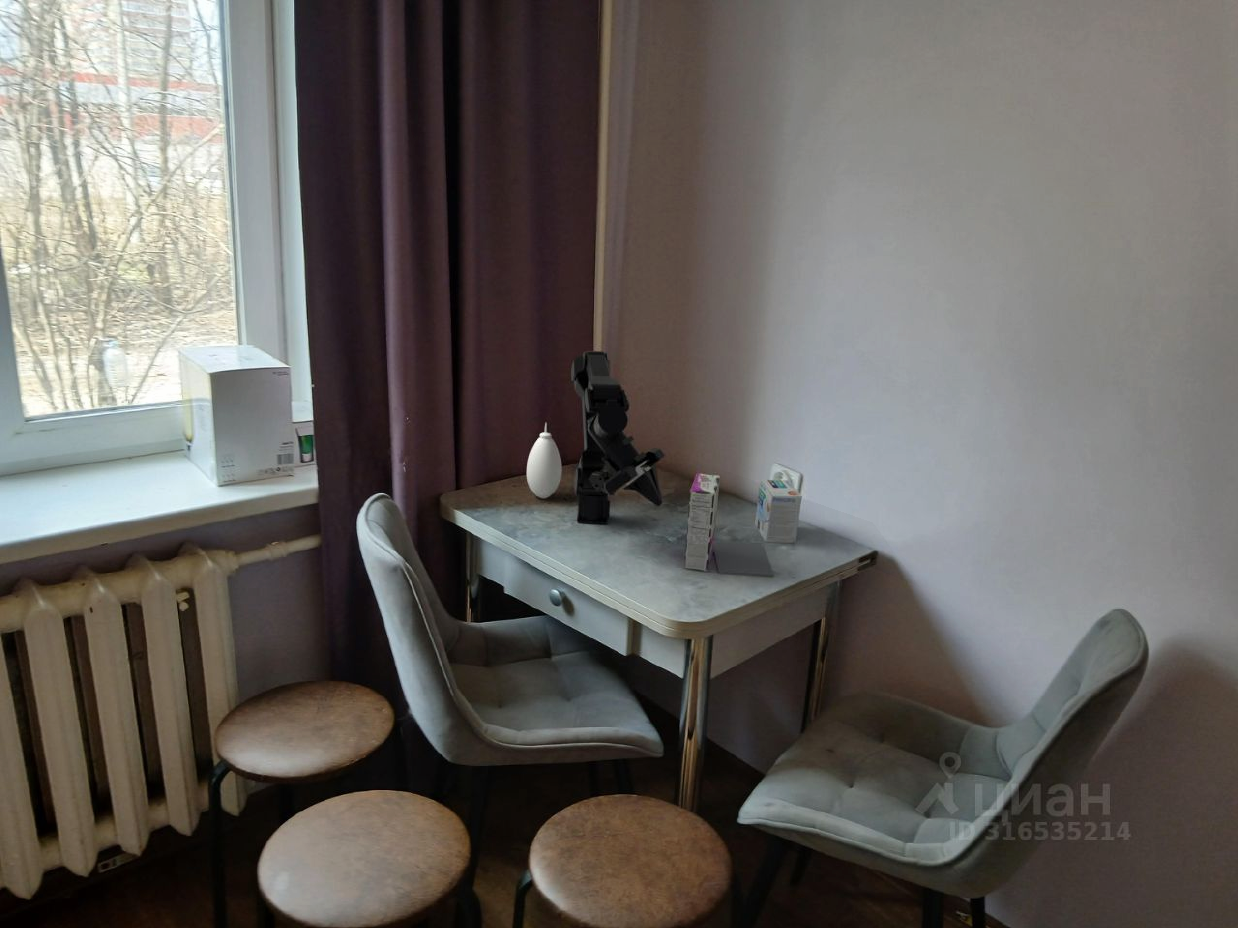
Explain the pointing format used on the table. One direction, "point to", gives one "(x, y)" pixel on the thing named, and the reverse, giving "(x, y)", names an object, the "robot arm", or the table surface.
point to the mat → (741, 558)
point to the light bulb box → (778, 511)
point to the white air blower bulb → (544, 466)
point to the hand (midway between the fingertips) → (660, 504)
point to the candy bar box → (701, 522)
